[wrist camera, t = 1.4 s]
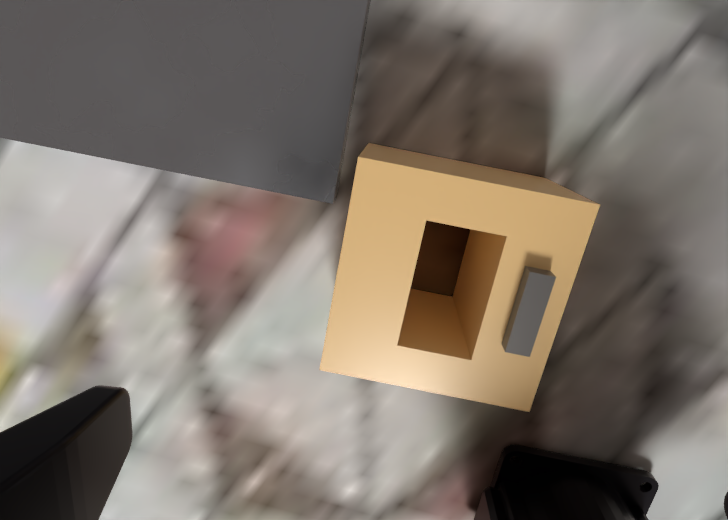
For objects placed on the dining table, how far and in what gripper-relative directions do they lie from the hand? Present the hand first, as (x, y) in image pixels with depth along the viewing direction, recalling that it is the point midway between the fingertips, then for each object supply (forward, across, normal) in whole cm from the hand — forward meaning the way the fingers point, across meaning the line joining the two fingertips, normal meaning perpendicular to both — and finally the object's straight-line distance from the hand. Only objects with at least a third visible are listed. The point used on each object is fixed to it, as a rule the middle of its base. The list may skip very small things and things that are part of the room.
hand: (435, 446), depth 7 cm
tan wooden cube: (+12, -2, +1) cm, 12 cm away
